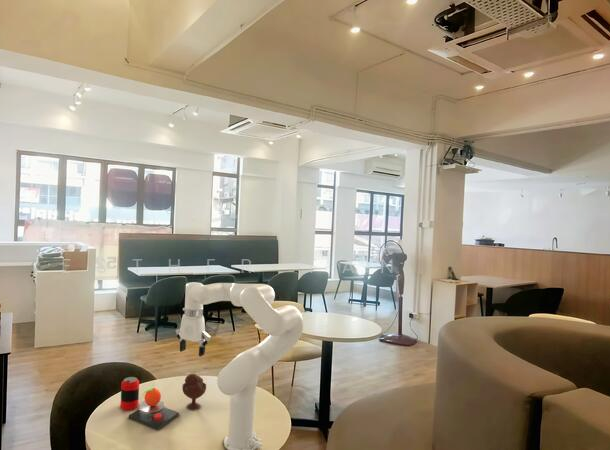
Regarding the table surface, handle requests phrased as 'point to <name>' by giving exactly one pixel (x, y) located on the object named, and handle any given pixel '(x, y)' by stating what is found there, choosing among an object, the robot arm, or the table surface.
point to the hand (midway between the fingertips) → (192, 353)
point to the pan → (150, 407)
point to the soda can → (129, 393)
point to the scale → (149, 418)
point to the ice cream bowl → (193, 389)
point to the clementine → (152, 396)
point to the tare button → (158, 416)
